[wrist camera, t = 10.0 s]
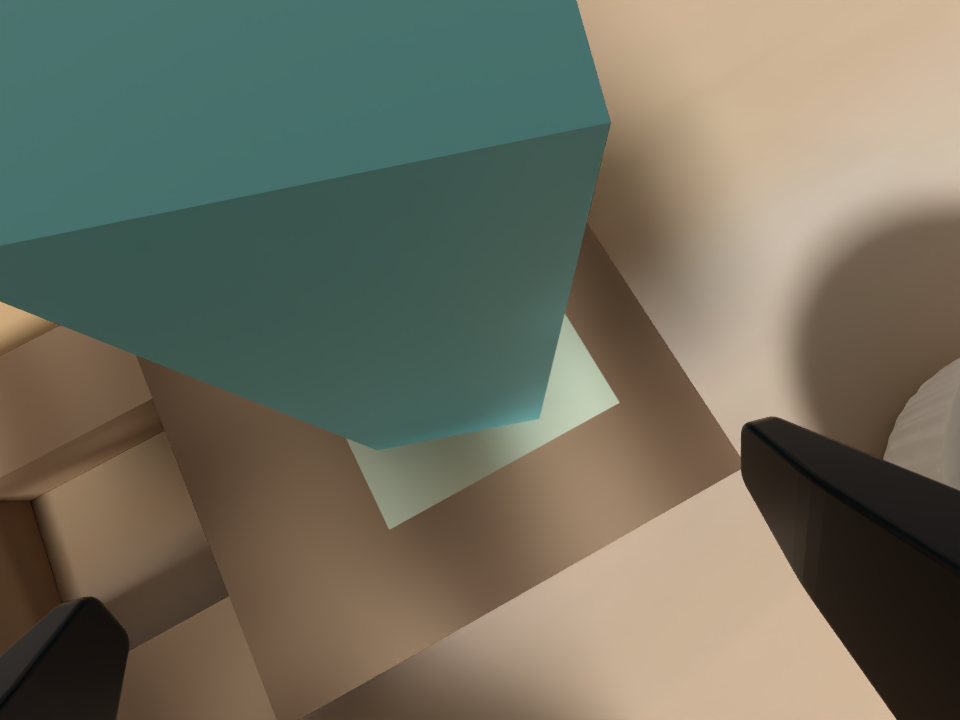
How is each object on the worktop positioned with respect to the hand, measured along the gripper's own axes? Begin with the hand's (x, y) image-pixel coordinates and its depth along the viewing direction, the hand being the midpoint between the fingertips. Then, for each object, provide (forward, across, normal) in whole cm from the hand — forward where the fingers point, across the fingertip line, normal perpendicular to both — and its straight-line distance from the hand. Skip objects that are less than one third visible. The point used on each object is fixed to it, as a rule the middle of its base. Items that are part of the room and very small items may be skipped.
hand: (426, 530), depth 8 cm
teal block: (+8, 0, +2) cm, 9 cm away
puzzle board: (+9, +5, +5) cm, 12 cm away
